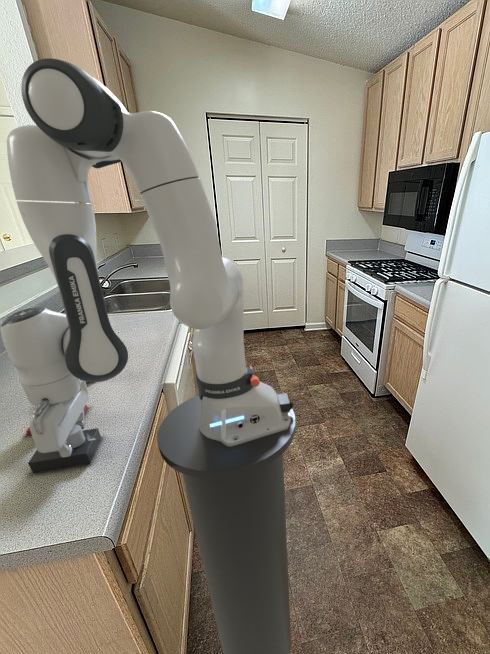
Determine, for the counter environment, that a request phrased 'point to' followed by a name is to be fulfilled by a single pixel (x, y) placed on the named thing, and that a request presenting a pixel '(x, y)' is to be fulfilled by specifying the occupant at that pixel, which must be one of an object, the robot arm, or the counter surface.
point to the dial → (75, 437)
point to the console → (77, 457)
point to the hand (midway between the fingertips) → (74, 440)
